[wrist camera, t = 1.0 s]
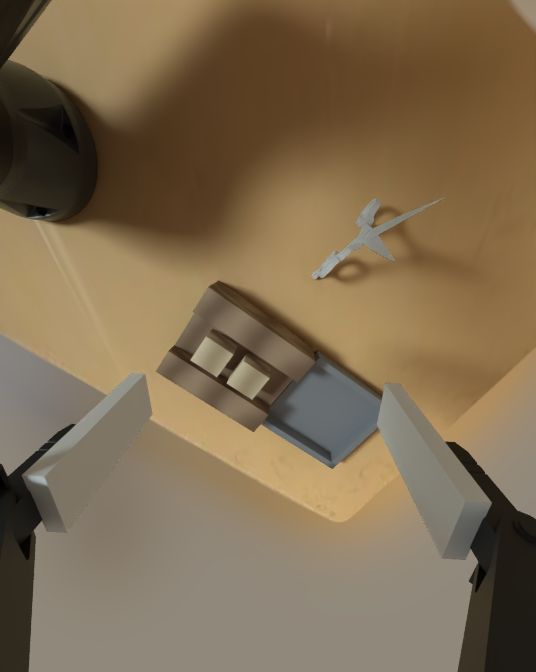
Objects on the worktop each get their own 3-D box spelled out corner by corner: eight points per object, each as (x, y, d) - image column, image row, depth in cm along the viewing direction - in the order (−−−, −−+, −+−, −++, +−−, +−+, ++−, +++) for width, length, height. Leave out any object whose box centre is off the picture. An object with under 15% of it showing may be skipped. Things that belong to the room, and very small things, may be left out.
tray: (262, 414, 42) (260, 424, 40) (317, 350, 38) (319, 357, 36) (329, 456, 45) (332, 468, 42) (389, 401, 40) (396, 411, 38)
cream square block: (197, 350, 36) (190, 360, 33) (212, 328, 35) (206, 336, 32) (222, 366, 37) (216, 377, 34) (237, 345, 35) (233, 354, 32)
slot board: (171, 356, 40) (155, 371, 35) (218, 280, 35) (208, 287, 31) (257, 410, 42) (253, 432, 38) (312, 346, 38) (315, 361, 33)
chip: (231, 372, 37) (226, 383, 34) (247, 351, 36) (243, 361, 33) (254, 387, 37) (252, 399, 35) (271, 367, 36) (269, 378, 33)
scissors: (365, 202, 32) (499, 126, 13) (370, 206, 32) (510, 137, 13) (310, 276, 34) (351, 305, 15) (315, 279, 35) (361, 313, 15)
